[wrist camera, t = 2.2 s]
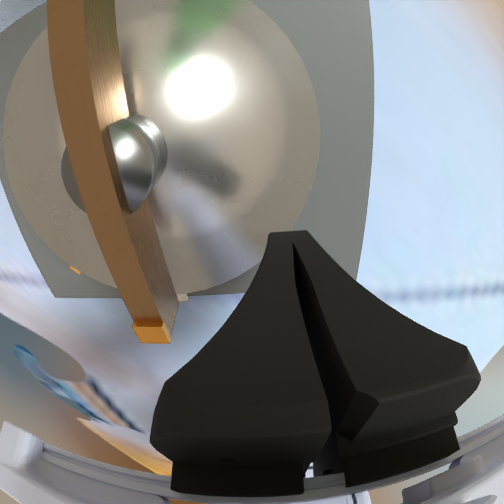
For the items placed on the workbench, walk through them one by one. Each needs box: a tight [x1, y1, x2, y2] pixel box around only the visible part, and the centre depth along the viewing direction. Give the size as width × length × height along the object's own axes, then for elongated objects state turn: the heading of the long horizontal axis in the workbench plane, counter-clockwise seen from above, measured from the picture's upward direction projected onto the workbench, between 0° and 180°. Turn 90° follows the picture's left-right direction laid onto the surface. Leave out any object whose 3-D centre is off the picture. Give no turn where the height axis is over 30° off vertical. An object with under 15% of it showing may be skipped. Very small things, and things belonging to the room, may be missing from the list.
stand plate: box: [0, 0, 374, 301], centre depth 11 cm, size 16×18×2 cm
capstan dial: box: [3, 0, 321, 344], centre depth 8 cm, size 13×13×4 cm
